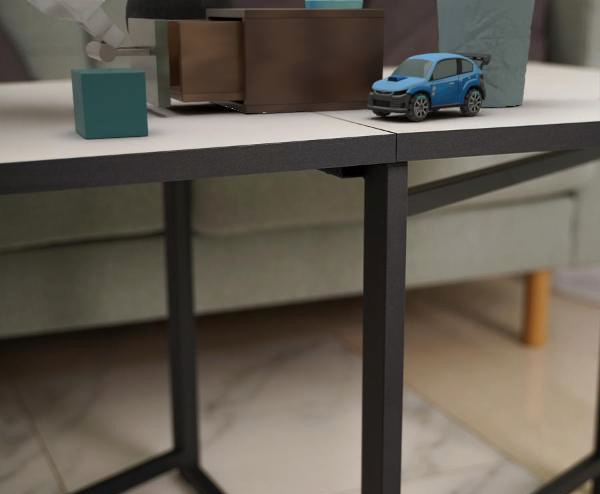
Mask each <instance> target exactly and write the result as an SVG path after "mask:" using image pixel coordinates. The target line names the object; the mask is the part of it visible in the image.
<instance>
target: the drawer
mask: <svg viewBox="0 0 600 494" xmlns="http://www.w3.org/2000/svg"><path fill="white" fill-rule="evenodd" d="M128 29H129V34H128V44H129V46H128V45H125V46H123V45H122V46H121V45H120V46H119V47H118V48H117V49H115V48H114V47H113V46H112V45H109V44H104V43H101V42H100V41H95V40H93V41H90V42H88V43H87V44H86V46H85V53H86V55H87V56H88V57H89V58H91V59H95V60H98V61H101V62H104V63H111V62H113V61H115V59H116V58H117V57H129V61H130V64H129V65H130V68H133V69H136V70H140V71H143V72H145V79H146V99H147V104H150V105H152V106H154V107H157V108H171V107H172V99H173V100H175V101H177V102H181V103H203V102H204V103H207V102H209V101H235V100H244V79H243V24H242V20H161V19H145V18H128ZM209 103H210V102H209Z"/></svg>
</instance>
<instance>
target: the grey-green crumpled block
mask: <svg viewBox="0 0 600 494" xmlns="http://www.w3.org/2000/svg"><path fill="white" fill-rule="evenodd" d="M535 3H536V0H436V8H437V10H436V11H437V20H438V21H437V23H438V24H437V25H438V27H437V28H438V51H439V52H438V53H450V54H452V53H477V54H490V55H491V60H490V62H489V64H488V65H484V66H483V68H482V72H483V79H484V84H485V87H486V98H485V100H482V106H481V107H497V108H507V107H506V106H514V107H517V106H516V105H520V106H522V104H523V101H524V94H525V88H526V87H525V86H526V74H527V65H528V61H529V53H530V46H531V34H532V30H531V28H532V27H531V26H532V23H533V15H534V10H535ZM466 58H473V57H466ZM477 59H481V58H478V57H477ZM472 61H473V62H474V63H475V64H476V65H477V66H478V67H479V66H480V65H481V63H482V61H478V60H472Z"/></svg>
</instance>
